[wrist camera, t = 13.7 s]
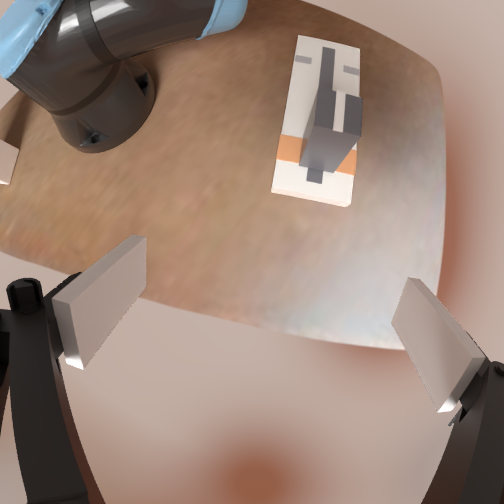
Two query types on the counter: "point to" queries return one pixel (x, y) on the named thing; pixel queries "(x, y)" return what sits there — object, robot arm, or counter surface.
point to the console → (297, 114)
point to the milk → (7, 161)
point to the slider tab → (331, 130)
